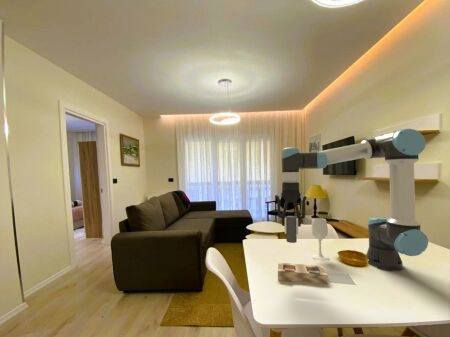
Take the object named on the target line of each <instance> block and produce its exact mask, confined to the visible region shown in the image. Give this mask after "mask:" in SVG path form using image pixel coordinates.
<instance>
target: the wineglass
mask: <svg viewBox="0 0 450 337" xmlns="http://www.w3.org/2000/svg"><path fill="white" fill-rule="evenodd" d="M311 233H312V235H313V237H314V238H315V239H317V241H318V253H317V254H316V253H315V254H312V256H311V258H312V259H314V260H317V261H330V257H328V255H325V254H323V253H322V252H323V251H322V241H323V240H325V238H327V237H328V233H329V229H328V223H327V219H325V218H321V217H316V218H312V221H311Z"/></svg>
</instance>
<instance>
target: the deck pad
mask: <svg viewBox="0 0 450 337" xmlns="http://www.w3.org/2000/svg"><path fill="white" fill-rule="evenodd" d="M326 273H327V281H328V282H329V284H331V283H333V284H342V285H353V286H356V282H355V281H354V279H353V278H352V276H351V275H350V274H349V273H344V272H343V273H342V272H331V271H326Z"/></svg>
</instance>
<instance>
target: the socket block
mask: <svg viewBox="0 0 450 337" xmlns="http://www.w3.org/2000/svg"><path fill="white" fill-rule="evenodd" d="M326 272H327V271H326V269H325V267H324V266H323V265H313V264H304V263H303V264H301V263H287V262H277V280H278V281H285V282H293V281H294V282H306V283H313V284H314V283H315V284H326V285H328V278H327V273H326Z"/></svg>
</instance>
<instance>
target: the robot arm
mask: <svg viewBox="0 0 450 337" xmlns="http://www.w3.org/2000/svg"><path fill="white" fill-rule="evenodd" d="M426 143H427V142H426V138H425V137H424V135H423V134H422V133H421V132H419V131H418V130H417V129H415V128H403V129H397V130H395V131H391V132H389V133H388V132H387V133H383V134H380V135H378V136H375V137H373V138H369V139H364V140H361V142H360V143H355V144H350V145H344V146H341V147H335V148H329V149H325V150H320V151H312V152H311V151H306V152H304V151H303V152H302V151H300V150H299V148H298V147H285V148H283V149H282V150H281V180H282V183H281V189H282V190H281V193H280V194H277V195H275V198H276V204H277V218H280V219H281V225H282V226H283V227H284V234H285V235H286V214H287V213H286V212H287V209H288V205H289V203H293V205H294V208H295V213H296V235H299V227H301V226H302V224H301V223H302V219H305V218H306V200H307V196H306V195H303V194H302V193H301V192H300V182H299V181H300V170H303V171H304V170H313V169H315V170H317V169H318V170H321V169H325V168H326V167H327V166H328V165H333V164H337V163H343V162H349V161H354V160H355V161H356V160H359V159H365V160H370V159H378V158H379V159H382V158H384V162H386V163H387V164H388V166H389V167H388V169H389V206H390V208H389V211H390V214H389V215H390V217H370V218H368V220H367V228H368V248H367V252H366V254H365V257H366V258H368V259H369V261H368V263H367V264H368V265H370V266H372V267H375V268H377V269H381V270H384V271H385V270H387V271H401V270H402V269H404V265H403V264H404V263H403V260H402V258H401V255H400V254H402V255H404V256H408V257H417V256H419V255H421V254H422V253H423V252H425V251H426V250H427V248H428V247H429V239H428V238H429V237H428V236H427V234H425V233H424V232H423V231H422V230H421V223H420V222H419V221H418V220H417V219H416V194H415V193H416V191H415V190H416V189H415V164H416V163H417V162H418V161H419V155H420V154H421V153H422V152H423V151H424V150H425V148H426ZM281 199H284V206H283V209H282V214H281ZM299 199H300V200H301V214H300V210H299V204H298V200H299ZM366 258H365V259H366Z"/></svg>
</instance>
